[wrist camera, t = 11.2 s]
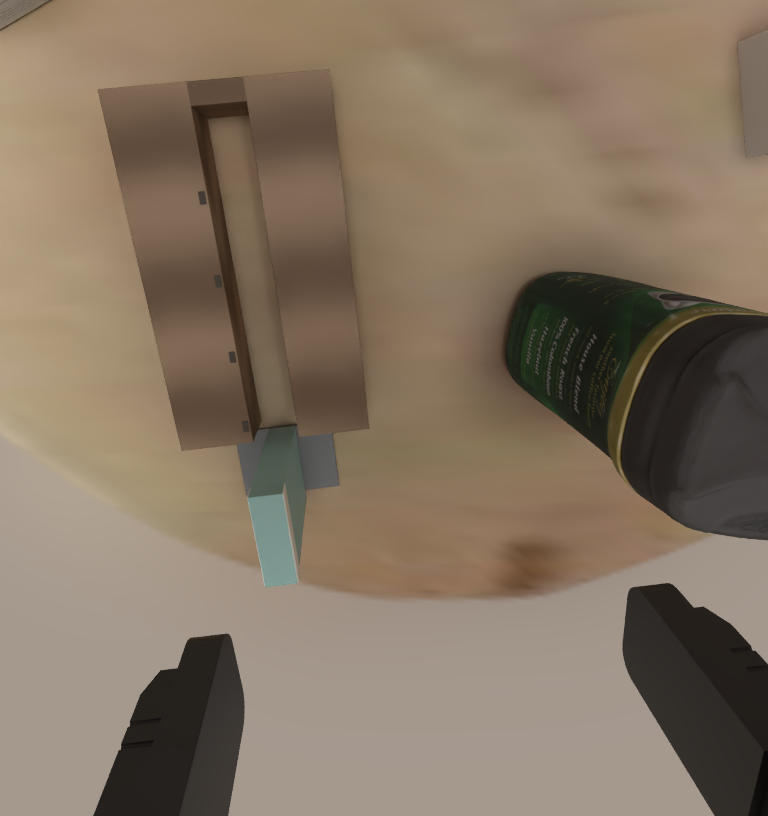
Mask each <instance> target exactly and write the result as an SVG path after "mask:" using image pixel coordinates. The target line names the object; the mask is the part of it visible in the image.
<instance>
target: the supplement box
mask: <svg viewBox="0 0 768 816" xmlns="http://www.w3.org/2000/svg"><path fill="white" fill-rule="evenodd" d="M48 1H49V0H0V29H2V28H4V27H5V26H7V25H9V24H11V23H12V22H14V21H16V20H17V19H19V18H20V17H22V16H24V15H26V14H27V13H29V12H31V11H33V10H35V9H36V8H38V7H39V6H41V5H43V4H44V3H46V2H48Z"/></svg>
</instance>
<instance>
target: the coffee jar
mask: <svg viewBox="0 0 768 816" xmlns="http://www.w3.org/2000/svg"><path fill="white" fill-rule="evenodd" d="M506 361H507V366H508V370H509V372H510V374H511V376H512V378H513V379H514V380H515V382H516V383H517V384H518V385H520V386H521V387H522V388H523V389H524V390H525V391H526V392H528V393H529V394H530V395H531V396H533V397H534V398H535V399H536V400H538V401H539V402H540V403H542V404H543V405H544V406H546V407H547V408H548V409H550V410H551V411H553V412H554V413H555V414H557V415H558V416H559V417H560V418H562V419H563V420H564V421H566V422H567V423H568V424H569V425H571V426H572V427H573V428H574V429H576V430H577V431H578V432H579V433H580V434H582V435H583V436H584V437H586V438H587V439H588V440H589V441H590V442H592V443H593V444H594V445H595V446H597V447H598V448H599V449H600V450H602V451H603V452H604V453H605V454H606V455H607V456H609V457H610V458H611V459H612V461H613V464H614V466H615V468H616V470H617V472H618V473H619V474H620V476H621V477H622V478H623V480H624V481H625V482H626V484H627V485H628V486H629V487H630V488H631V489H632V490H633V491H635V492H636V493H638V494H639V495H640V496H642V497H643V498H644V499H646V500H647V501H649V502H650V503H652V504H653V505H654V506H656V507H657V508H659V509H660V510H662V511H663V512H664V513H666V514H667V515H668V516H670V517H671V518H672V519H674V520H675V521H677V522H679V523H680V524H682V525H684V526H686V527H688V528H690V529H693V530H698V531H702V532H705V533H714V534H719V535H726V536H733V537H739V538H747V539H758V540H768V313H763V312H759V311H755V310H750V309H746V308H742V307H738V306H733V305H729V304H725V303H721V302H717V301H713V300H709V299H705V298H700V297H696V296H691V295H687V294H683V293H678V292H674V291H669V290H665V289H660V288H656V287H653V286H649V285H645V284H641V283H637V282H633V281H628V280H623V279H619V278H614V277H609V276H604V275H597V274H590V273H580V272H556V273H551V274H548V275H545V276H543V277H541V278H539V279H537V280H536V281H534V282H533V283H532V284H531V285H530V286H529V287H528V288H527V289H526V291H525V292H524V293H523V295H522V296H521V298H520V300H519V302H518V304H517V307H516V310H515V312H514V315H513V319H512V323H511V326H510V330H509V335H508V340H507V349H506Z"/></svg>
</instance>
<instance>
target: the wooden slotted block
mask: <svg viewBox="0 0 768 816" xmlns="http://www.w3.org/2000/svg"><path fill="white" fill-rule="evenodd" d="M98 94H99V98H100V102H101V107H102V111H103V115H104V119H105V124H106V128H107V132H108V137H109V141H110V145H111V149H112V154H113V158H114V162H115V167H116V171H117V175H118V179H119V184H120V188H121V192H122V197H123V201H124V205H125V209H126V214H127V218H128V222H129V227H130V231H131V235H132V240H133V244H134V248H135V252H136V257H137V261H138V265H139V270H140V274H141V278H142V282H143V287H144V291H145V295H146V300H147V304H148V308H149V312H150V317H151V321H152V325H153V330H154V334H155V338H156V343H157V347H158V351H159V355H160V360H161V364H162V368H163V373H164V377H165V381H166V385H167V390H168V394H169V398H170V403H171V407H172V411H173V415H174V420H175V424H176V428H177V433H178V437H179V441H180V445H181V450H182V451H184V450H193V449H201V448H210V447H218V446H227V445H235V444H243V443H252V442H254V439H255V436H256V433H257V431H258V428H259V425H260V422H261V419H260V413H259V407H258V402H257V396H256V391H255V385H254V379H253V374H252V368H251V363H250V357H249V351H248V346H247V340H246V335H245V329H244V323H243V318H242V312H241V307H240V301H239V295H238V290H237V284H236V279H235V273H234V267H233V262H232V256H231V251H230V245H229V239H228V234H227V228H226V223H225V217H224V211H223V206H222V200H221V195H220V189H219V183H218V178H217V172H216V166H215V161H214V155H213V150H212V144H211V138H210V133H209V127H208V122H207V118H218V117H229V116H240V115H249V118H250V124H251V131H252V137H253V144H254V150H255V157H256V163H257V169H258V176H259V182H260V189H261V195H262V201H263V208H264V214H265V221H266V227H267V234H268V240H269V246H270V253H271V259H272V266H273V272H274V278H275V285H276V291H277V298H278V304H279V310H280V317H281V323H282V330H283V336H284V343H285V349H286V355H287V362H288V368H289V375H290V381H291V387H292V394H293V400H294V407H295V413H296V420H297V426H298V432H299V437H303V436H311V435H320V434H328V433H336V432H345V431H353V430H362V429H369V422H368V413H367V403H366V394H365V385H364V376H363V367H362V358H361V349H360V340H359V331H358V322H357V313H356V304H355V295H354V286H353V277H352V268H351V259H350V250H349V241H348V232H347V223H346V213H345V204H344V195H343V186H342V177H341V168H340V159H339V150H338V141H337V132H336V123H335V114H334V105H333V96H332V87H331V78H330V69H326V70H314V71H303V72H291V73H280V74H269V75H257V76H246V77H234V78H223V79H211V80H200V81H188V82H177V83H165V84H154V85H142V86H131V87H119V88H108V89H98Z"/></svg>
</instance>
